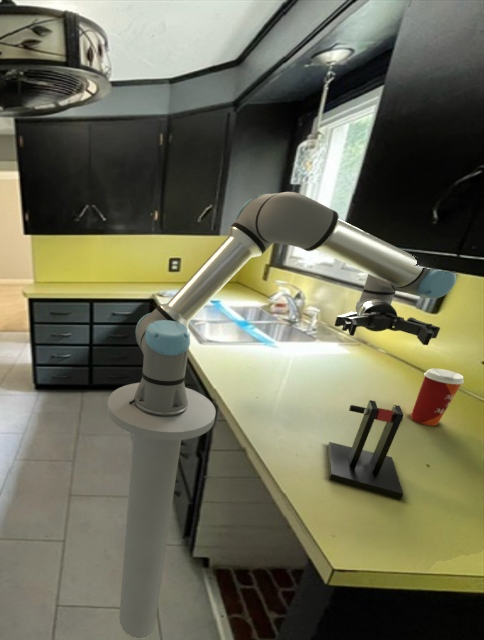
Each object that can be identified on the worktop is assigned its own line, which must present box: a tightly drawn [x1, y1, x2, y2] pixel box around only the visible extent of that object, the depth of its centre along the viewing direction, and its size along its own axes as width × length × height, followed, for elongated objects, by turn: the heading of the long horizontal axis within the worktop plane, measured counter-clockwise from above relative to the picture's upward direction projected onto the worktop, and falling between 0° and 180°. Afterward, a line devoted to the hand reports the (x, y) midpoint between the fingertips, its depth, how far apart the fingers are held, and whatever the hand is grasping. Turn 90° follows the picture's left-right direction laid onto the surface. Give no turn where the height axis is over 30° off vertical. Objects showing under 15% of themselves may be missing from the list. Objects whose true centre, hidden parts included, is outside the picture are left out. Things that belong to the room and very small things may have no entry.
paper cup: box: [410, 368, 465, 427], centre depth 96 cm, size 8×8×14 cm
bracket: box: [327, 399, 405, 501], centre depth 76 cm, size 14×12×16 cm
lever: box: [348, 404, 393, 423], centre depth 77 cm, size 12×8×2 cm, turn 150°
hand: (389, 334), depth 83 cm, fingers open, 13 cm apart
